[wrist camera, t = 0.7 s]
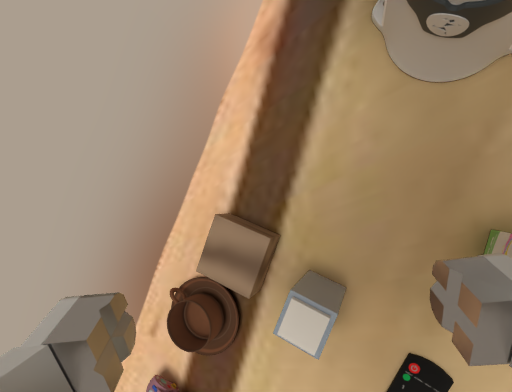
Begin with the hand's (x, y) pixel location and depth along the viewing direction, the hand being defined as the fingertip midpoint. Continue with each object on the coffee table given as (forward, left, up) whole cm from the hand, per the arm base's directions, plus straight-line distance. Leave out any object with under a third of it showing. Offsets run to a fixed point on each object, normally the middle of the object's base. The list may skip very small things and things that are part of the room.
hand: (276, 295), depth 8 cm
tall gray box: (+12, 0, -37) cm, 39 cm away
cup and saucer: (+23, -15, -37) cm, 46 cm away
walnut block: (+11, -13, -37) cm, 41 cm away
